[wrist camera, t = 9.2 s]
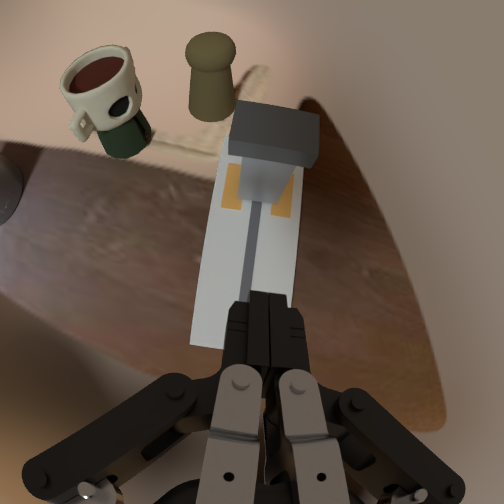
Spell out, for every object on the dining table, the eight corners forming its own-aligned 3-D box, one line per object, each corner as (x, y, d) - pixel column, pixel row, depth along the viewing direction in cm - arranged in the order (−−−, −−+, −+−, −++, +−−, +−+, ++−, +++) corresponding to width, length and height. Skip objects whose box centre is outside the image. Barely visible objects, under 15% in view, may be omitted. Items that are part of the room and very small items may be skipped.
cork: (230, 84, 34) (234, 22, 24) (240, 117, 33) (247, 52, 23) (185, 92, 34) (177, 29, 23) (191, 126, 33) (182, 61, 22)
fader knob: (286, 209, 29) (318, 155, 18) (226, 199, 29) (228, 139, 18) (289, 177, 30) (319, 114, 19) (232, 168, 29) (236, 99, 19)
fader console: (280, 352, 29) (284, 356, 26) (192, 341, 28) (189, 344, 26) (300, 157, 33) (304, 148, 31) (224, 145, 32) (224, 135, 30)
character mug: (135, 184, 31) (92, 118, 18) (86, 172, 30) (34, 113, 18) (170, 110, 33) (153, 33, 20) (123, 103, 33) (95, 34, 20)
